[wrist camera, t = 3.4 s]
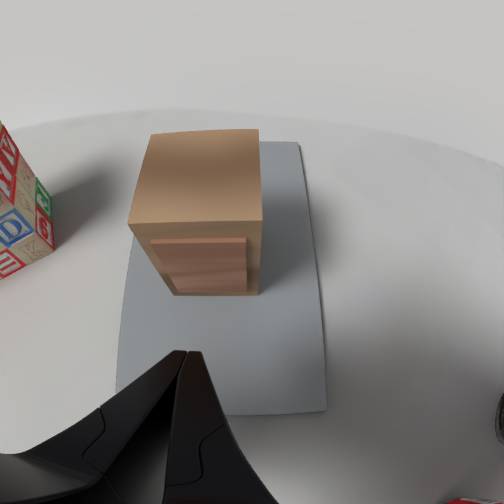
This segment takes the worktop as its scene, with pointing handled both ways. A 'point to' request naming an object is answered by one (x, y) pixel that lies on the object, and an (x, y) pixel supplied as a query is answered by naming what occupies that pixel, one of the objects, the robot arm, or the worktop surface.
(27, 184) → the stack of blocks
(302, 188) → the slate mat
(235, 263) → the walnut block
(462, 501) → the soda can
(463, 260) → the worktop surface
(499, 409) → the grey stone statuette
